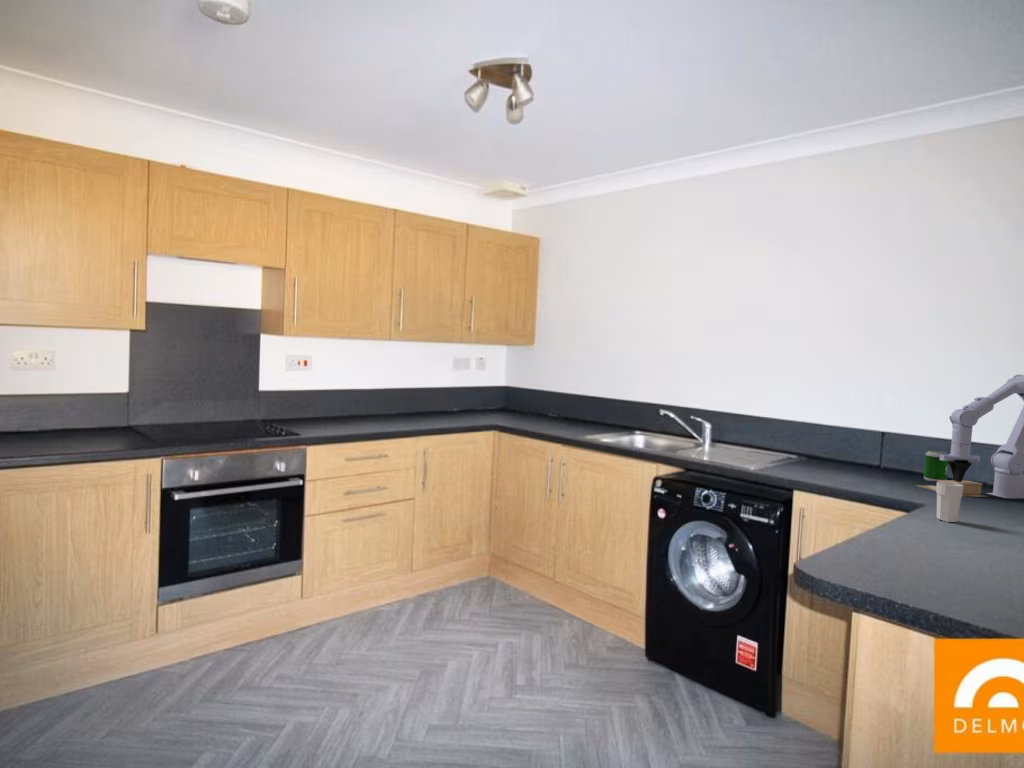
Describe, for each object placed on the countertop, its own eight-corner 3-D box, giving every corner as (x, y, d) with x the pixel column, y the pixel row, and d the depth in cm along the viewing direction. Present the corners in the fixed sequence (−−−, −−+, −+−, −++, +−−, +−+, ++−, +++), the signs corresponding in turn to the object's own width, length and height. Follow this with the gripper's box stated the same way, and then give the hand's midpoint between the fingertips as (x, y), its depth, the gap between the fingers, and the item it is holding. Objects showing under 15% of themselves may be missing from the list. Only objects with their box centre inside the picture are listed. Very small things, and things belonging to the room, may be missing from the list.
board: (948, 487, 246) (948, 485, 246) (988, 498, 229) (988, 496, 229) (915, 487, 244) (915, 485, 244) (953, 497, 227) (953, 496, 227)
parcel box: (966, 491, 237) (967, 481, 237) (980, 495, 231) (981, 485, 231) (937, 490, 235) (937, 481, 235) (950, 494, 229) (951, 484, 229)
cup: (948, 524, 188) (951, 486, 188) (928, 518, 195) (931, 481, 194) (966, 523, 190) (969, 486, 190) (945, 517, 197) (948, 481, 196)
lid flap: (967, 481, 237) (968, 480, 237) (982, 484, 230) (982, 483, 230) (937, 481, 235) (937, 479, 235) (951, 484, 228) (951, 483, 228)
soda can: (942, 484, 251) (945, 453, 250) (920, 481, 256) (923, 450, 256) (948, 482, 256) (951, 452, 255) (927, 479, 261) (929, 449, 261)
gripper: (969, 442, 237) (966, 479, 238) (934, 441, 234) (930, 478, 235) (986, 445, 230) (982, 483, 231) (950, 444, 228) (946, 482, 228)
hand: (957, 481), depth 232 cm, fingers closed
